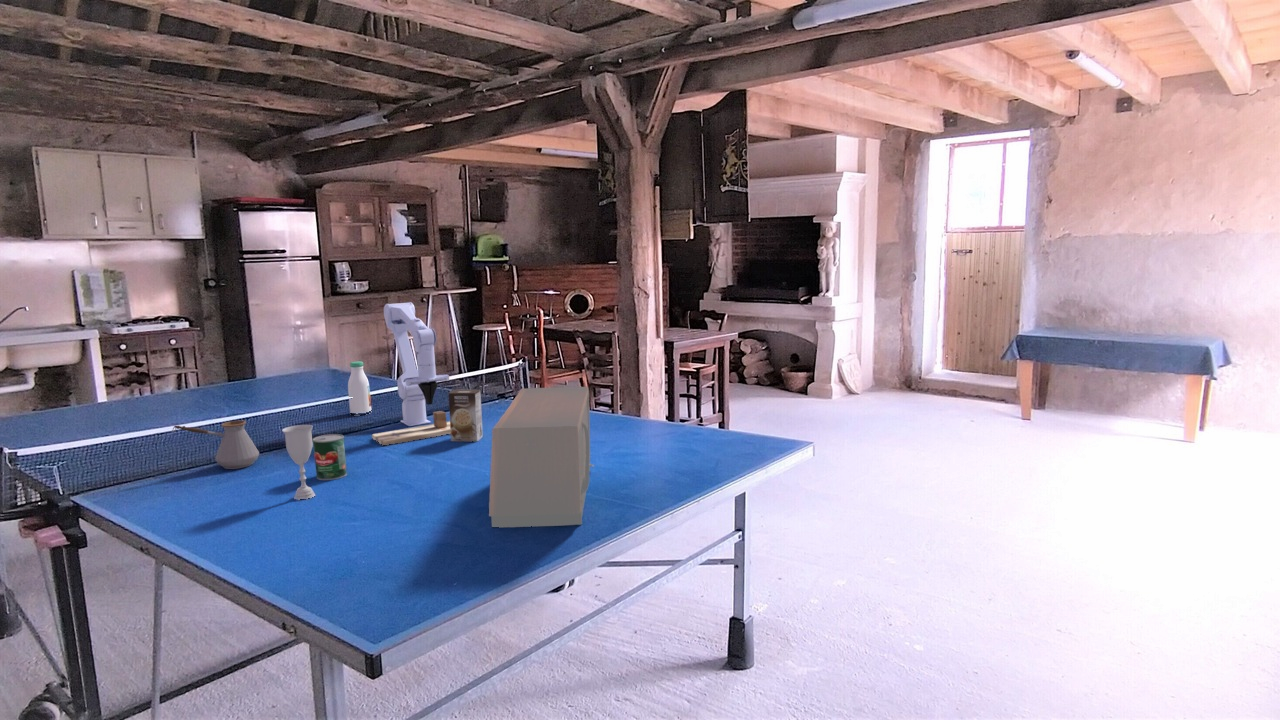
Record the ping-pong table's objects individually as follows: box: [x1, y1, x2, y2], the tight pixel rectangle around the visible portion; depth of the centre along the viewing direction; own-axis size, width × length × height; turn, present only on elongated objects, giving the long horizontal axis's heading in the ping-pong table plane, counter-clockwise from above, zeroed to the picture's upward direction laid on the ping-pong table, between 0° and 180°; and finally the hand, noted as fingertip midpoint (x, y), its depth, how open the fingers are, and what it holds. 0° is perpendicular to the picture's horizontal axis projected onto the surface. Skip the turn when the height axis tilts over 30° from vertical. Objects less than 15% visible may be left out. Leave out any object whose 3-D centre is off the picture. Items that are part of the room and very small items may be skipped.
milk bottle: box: [347, 361, 372, 414], centre depth 283 cm, size 8×8×20 cm
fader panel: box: [371, 420, 451, 446], centre depth 250 cm, size 12×28×2 cm, turn 126°
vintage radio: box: [488, 386, 595, 528], centre depth 184 cm, size 45×22×24 cm, turn 179°
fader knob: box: [432, 410, 448, 428], centre depth 253 cm, size 4×3×5 cm
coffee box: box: [448, 388, 484, 443], centre depth 242 cm, size 9×6×16 cm
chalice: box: [281, 424, 316, 501], centre depth 189 cm, size 7×7×18 cm
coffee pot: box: [171, 420, 260, 470], centre depth 216 cm, size 21×12×15 cm, turn 135°
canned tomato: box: [312, 433, 348, 481], centre depth 206 cm, size 8×8×11 cm
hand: (429, 403), depth 254 cm, fingers closed
